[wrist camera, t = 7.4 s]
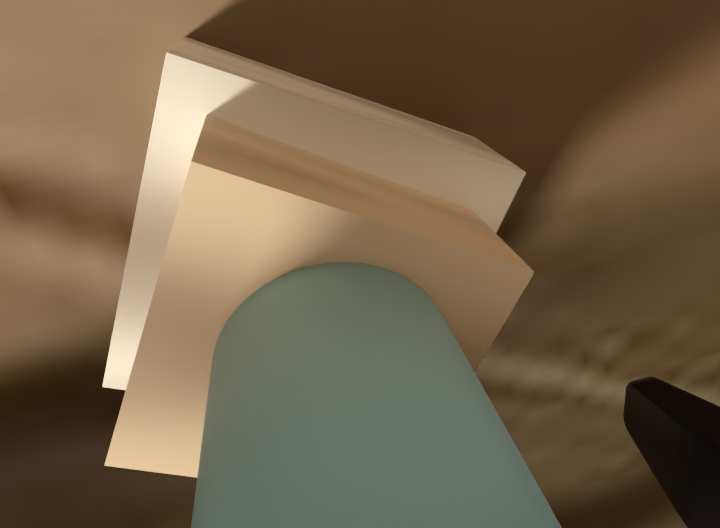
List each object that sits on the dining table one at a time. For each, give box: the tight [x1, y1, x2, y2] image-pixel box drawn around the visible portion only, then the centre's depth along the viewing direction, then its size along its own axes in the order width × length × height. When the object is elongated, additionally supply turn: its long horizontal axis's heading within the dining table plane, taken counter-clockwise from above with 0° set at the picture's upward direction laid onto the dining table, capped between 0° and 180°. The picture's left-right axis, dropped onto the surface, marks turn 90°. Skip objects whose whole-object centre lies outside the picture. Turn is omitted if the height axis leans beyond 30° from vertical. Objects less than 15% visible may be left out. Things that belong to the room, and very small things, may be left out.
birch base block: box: [102, 37, 526, 390], centre depth 16 cm, size 9×9×4 cm
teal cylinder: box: [191, 262, 562, 528], centre depth 8 cm, size 5×5×6 cm
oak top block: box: [104, 115, 534, 477], centre depth 13 cm, size 7×7×4 cm
